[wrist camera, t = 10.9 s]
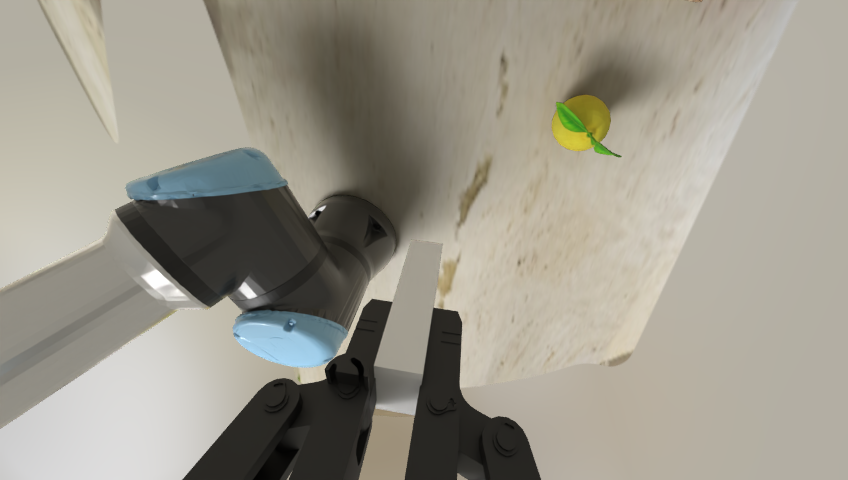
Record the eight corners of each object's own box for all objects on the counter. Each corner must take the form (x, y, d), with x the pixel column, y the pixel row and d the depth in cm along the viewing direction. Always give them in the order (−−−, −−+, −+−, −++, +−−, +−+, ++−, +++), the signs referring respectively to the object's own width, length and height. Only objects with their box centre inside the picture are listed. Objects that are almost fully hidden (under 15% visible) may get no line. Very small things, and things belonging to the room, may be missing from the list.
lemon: (601, 135, 37) (633, 168, 29) (549, 148, 38) (566, 182, 30) (601, 76, 33) (637, 94, 25) (544, 92, 35) (561, 115, 27)
